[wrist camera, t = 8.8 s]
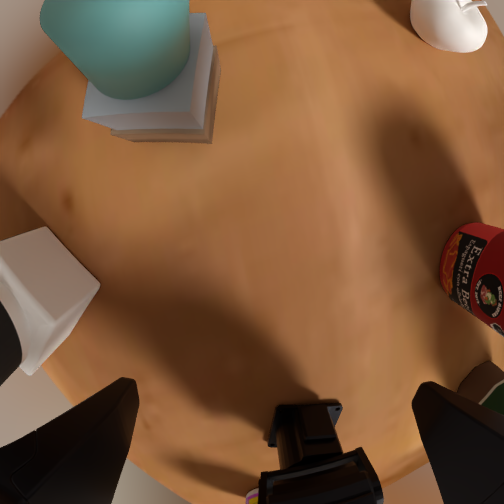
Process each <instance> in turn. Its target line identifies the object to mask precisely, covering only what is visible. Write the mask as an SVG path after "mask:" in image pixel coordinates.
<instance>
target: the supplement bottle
mask: <svg viewBox="0 0 504 504" xmlns="http://www.w3.org/2000/svg"><path fill="white" fill-rule="evenodd" d="M258 490H259V488H257V489H254V490H252V491H250V492H249V493H248V494H247V495H246V504H257V503H258Z"/></svg>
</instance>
